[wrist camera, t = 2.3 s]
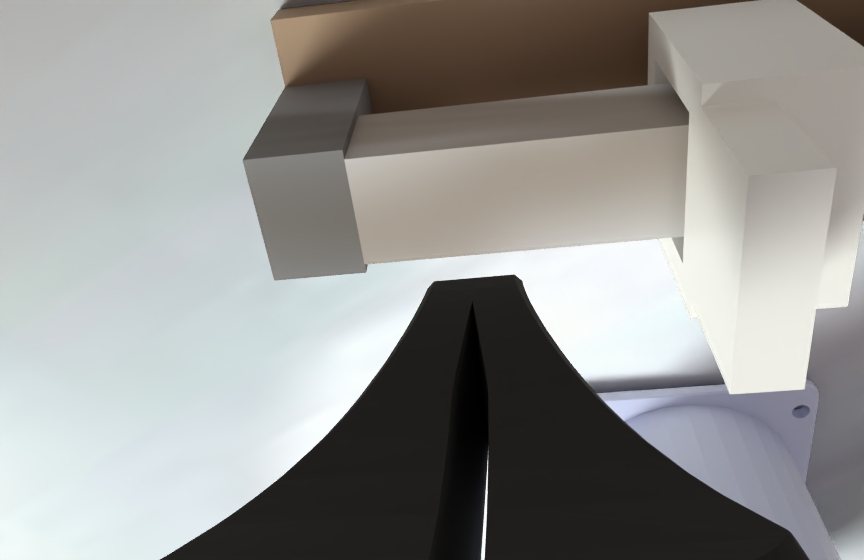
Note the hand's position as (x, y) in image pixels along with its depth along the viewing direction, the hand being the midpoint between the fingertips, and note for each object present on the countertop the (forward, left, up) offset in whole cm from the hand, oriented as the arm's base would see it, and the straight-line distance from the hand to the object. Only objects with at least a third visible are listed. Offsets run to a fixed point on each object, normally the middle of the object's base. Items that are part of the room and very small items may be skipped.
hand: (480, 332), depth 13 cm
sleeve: (0, -6, -8) cm, 10 cm away
